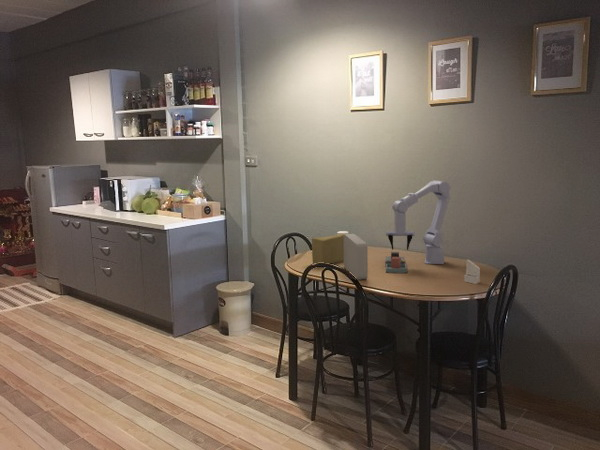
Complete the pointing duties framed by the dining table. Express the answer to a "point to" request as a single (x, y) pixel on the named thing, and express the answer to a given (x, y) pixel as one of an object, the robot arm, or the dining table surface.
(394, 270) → the tray
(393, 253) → the switch
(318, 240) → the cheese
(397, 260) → the block
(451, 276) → the dining table surface
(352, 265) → the tall light grey box
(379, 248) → the dining table surface
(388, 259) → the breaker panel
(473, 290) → the dining table surface
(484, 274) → the dining table surface
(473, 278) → the white wedge bracket
